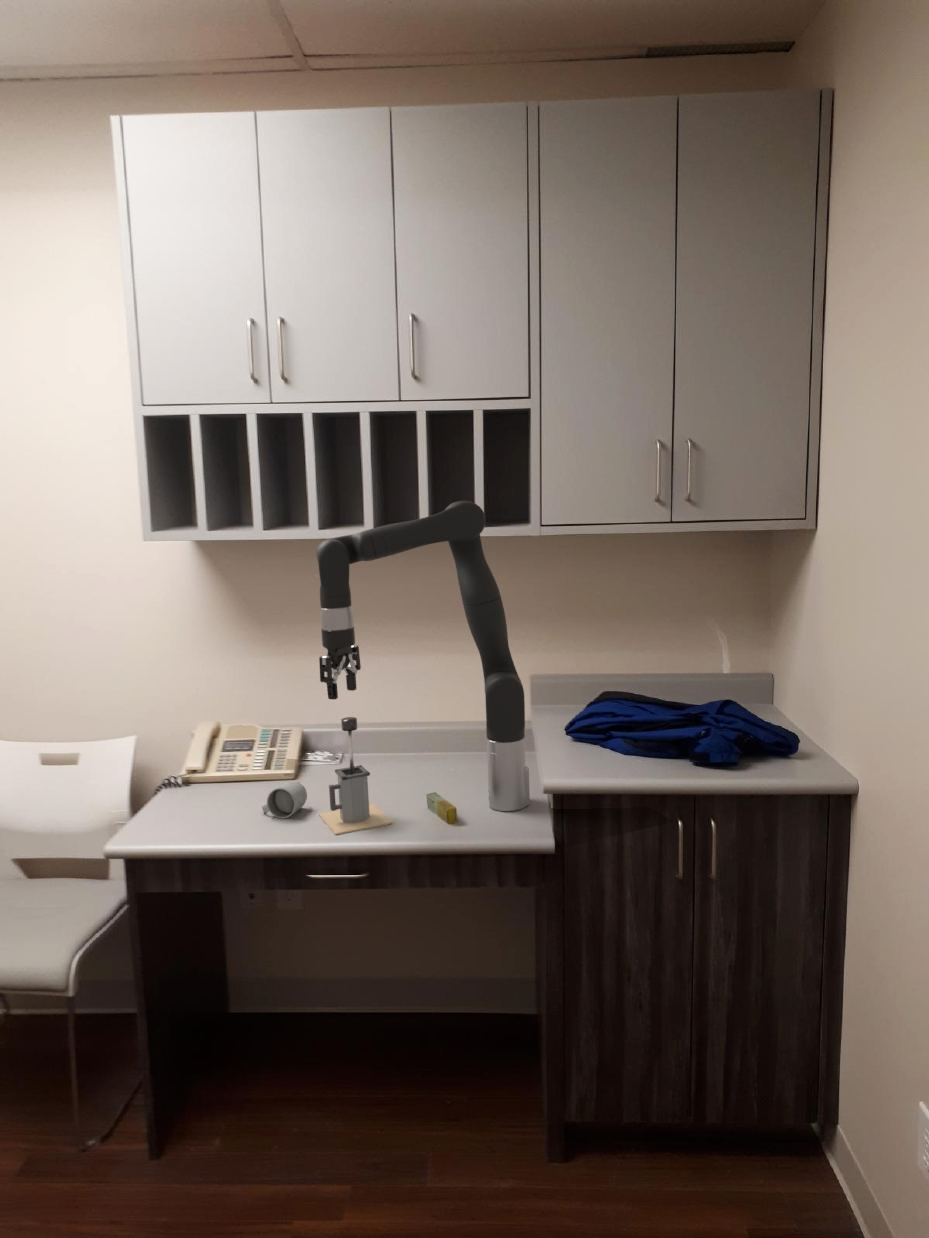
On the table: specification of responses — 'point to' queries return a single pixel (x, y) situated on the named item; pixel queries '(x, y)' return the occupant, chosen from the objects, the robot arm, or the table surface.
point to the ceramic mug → (286, 799)
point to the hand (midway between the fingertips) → (342, 694)
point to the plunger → (350, 737)
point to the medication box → (442, 808)
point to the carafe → (352, 804)
